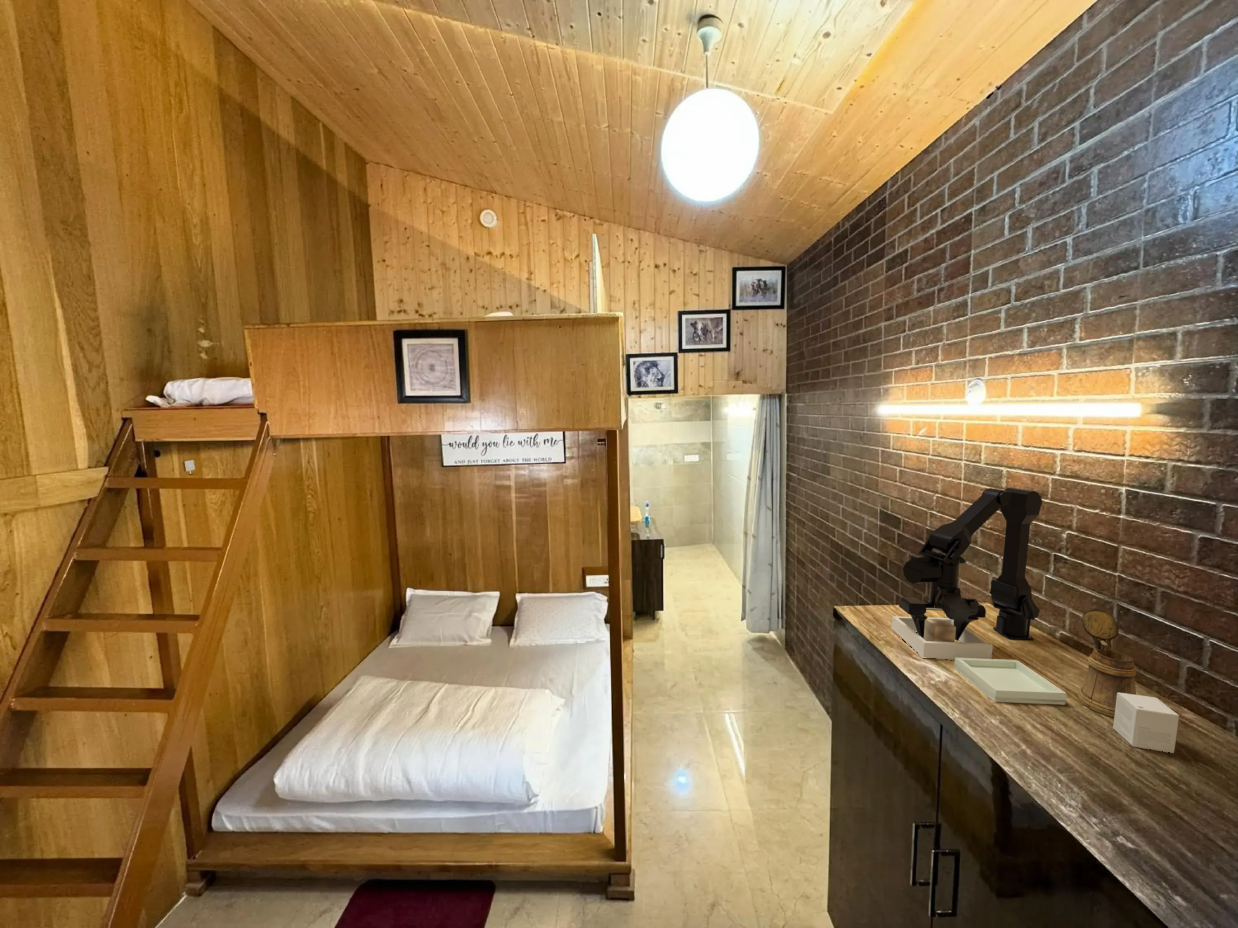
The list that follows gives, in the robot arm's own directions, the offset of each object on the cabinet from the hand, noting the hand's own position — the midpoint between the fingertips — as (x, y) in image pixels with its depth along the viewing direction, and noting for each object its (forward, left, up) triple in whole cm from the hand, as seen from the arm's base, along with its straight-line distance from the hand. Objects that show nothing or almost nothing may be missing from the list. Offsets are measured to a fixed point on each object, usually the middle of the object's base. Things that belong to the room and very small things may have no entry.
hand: (938, 639), depth 132 cm
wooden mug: (-20, +24, -2) cm, 31 cm away
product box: (-16, +37, -2) cm, 40 cm away
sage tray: (-4, +19, -2) cm, 19 cm away
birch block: (0, 0, -2) cm, 2 cm away
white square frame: (0, 0, -2) cm, 2 cm away
